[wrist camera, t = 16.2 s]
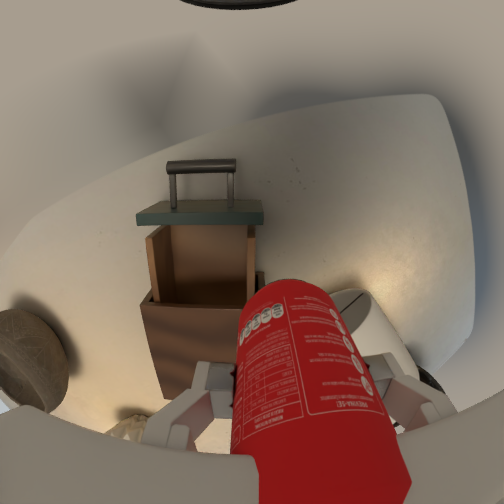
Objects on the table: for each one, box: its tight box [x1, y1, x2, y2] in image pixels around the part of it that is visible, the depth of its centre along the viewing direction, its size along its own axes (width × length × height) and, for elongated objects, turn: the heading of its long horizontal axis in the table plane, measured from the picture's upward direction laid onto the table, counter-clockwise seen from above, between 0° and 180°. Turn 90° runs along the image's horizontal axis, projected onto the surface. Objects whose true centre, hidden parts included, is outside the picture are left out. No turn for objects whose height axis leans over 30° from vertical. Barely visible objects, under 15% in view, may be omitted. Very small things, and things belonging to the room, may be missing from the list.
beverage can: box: [230, 279, 412, 504], centre depth 9 cm, size 5×5×12 cm
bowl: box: [0, 309, 69, 413], centre depth 34 cm, size 21×21×15 cm
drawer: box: [136, 159, 263, 306], centre depth 30 cm, size 19×12×8 cm, turn 179°
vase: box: [104, 414, 150, 443], centre depth 40 cm, size 16×16×18 cm
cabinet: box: [140, 272, 265, 400], centre depth 34 cm, size 16×14×10 cm
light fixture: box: [329, 288, 445, 427], centre depth 34 cm, size 17×19×34 cm
